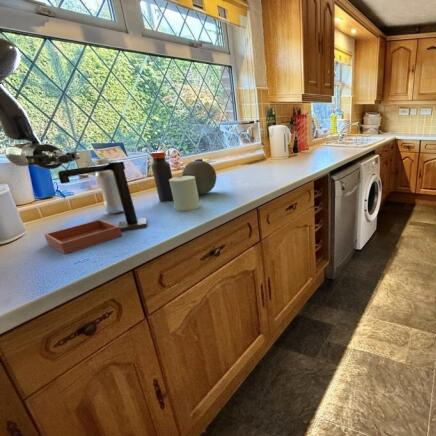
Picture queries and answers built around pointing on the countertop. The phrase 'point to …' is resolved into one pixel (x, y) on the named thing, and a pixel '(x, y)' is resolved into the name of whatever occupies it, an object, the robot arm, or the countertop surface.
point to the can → (184, 193)
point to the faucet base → (127, 204)
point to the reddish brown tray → (82, 236)
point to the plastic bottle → (108, 189)
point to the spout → (90, 170)
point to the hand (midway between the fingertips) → (65, 159)
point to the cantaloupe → (201, 175)
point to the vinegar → (162, 176)
